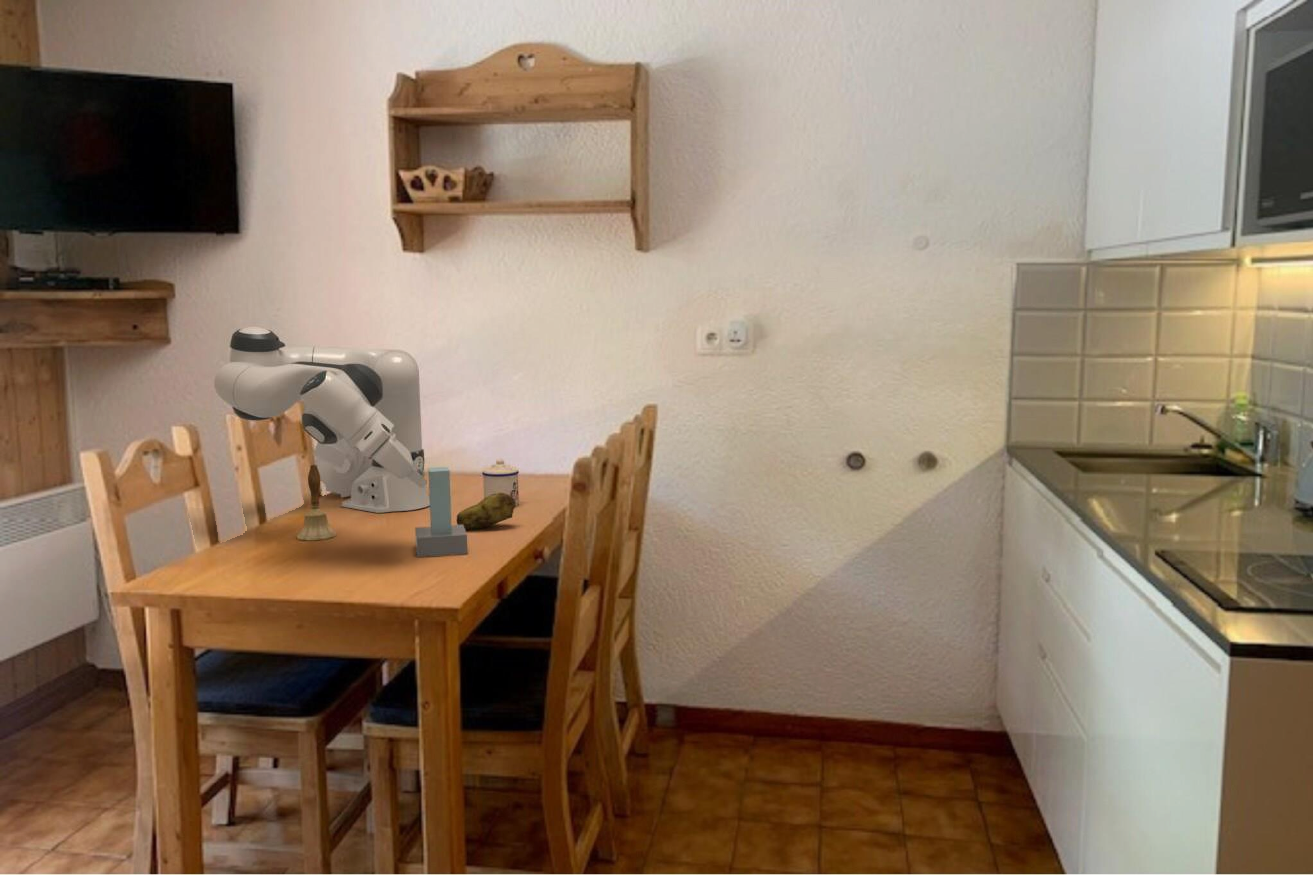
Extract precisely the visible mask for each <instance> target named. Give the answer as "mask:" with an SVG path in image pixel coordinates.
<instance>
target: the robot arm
mask: <svg viewBox="0 0 1313 875" xmlns="http://www.w3.org/2000/svg"><path fill="white" fill-rule="evenodd" d="M229 347H230V348H231V349H230V355H229V362H228V363H226V364H224V365H222V366H221V367H220V368H219V369H218V370H217V372H216V374H215V376H214V383H213V384H214V389H215V392H216V394H217V395H218V397H219V398H221V400H223V402H225V403H227V404H228V405H229V406H231V407H232V410H233V412H234V414H236V416H237V417H239V418H240V419H243V420H247V421H252V422H260V421H261V422H262V421H265V420H269V419H272V418H276V417H278V416H280V415H282V414H284V413H285V412H287V411H288V410H290V408H292V407H293V406H294V405H296V404H297V403H299V401H301V400H302V402H303V403H304V411H303V413H302V415H301V422H302V429H303V430H304V431H305V432H306V433H307V434H309V436H311V437H312V438H313V439H314V440H315V441H316V442H317V443H318V442H319V443H321V444H334V443H337V442H338V441H340V440H341V439H343V438H344V440H345V441H346V442H347V443H348V444H349V445H350V446H352V447H353V448H354V449H355V450H356V451H357V452H358V453H360V454H361V455H362V456H363V457H367V458H368V459H372V458H373V460H372V464H371V465H372V466H371V467H370V468H368V469H367V470H366V471H365V472H364V473H363V474H362V475H360V476H359V477H358V478H357V479H356V480H355V481H354V482H353V484H352V489H351V495H350V498H347V499H345V500H344V501H342V502H341V507H342V508H343V507H344V508H349V509H353V510H354V509H355V510H361V511H365V512H366V511H367V512H370V513H376V514H381V513H389V512H403V511H413V510H418V509H423V508H427V507H430V496H429V494H428V488H427V484H428V481H427V479H426V478H425V477H426V473H425V471H424V468H425V463H426V462H425V450H424V449H423V440H422V438H423V437H422V414H421V412H422V410H421V390H420V388H421V387H420V385H421V384H420V370H419V365H418V362H417V361H416V359H415V358H414V356H413V355H412V354H410V353H408V352H407V351H405V350H401V349H389V348H388V349H385V348H384V349H383V348H353V347H352V348H351V347H332V346H314V345H311V346H310V345H304V346H303V345H299V346H298V345H297V346H286V343H285V342H283V341H281V340H280V338H279V336H278V335H277V334H276V333H274V332H273V331H272V330H269V329H267V328H264V327H260V326H245V327H244V328H239V329H237V330H236V331H235V332H233V333H232V336H231V338H230V343H229ZM370 456H371V457H370Z"/></svg>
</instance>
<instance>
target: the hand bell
mask: <svg viewBox="0 0 1313 875" xmlns="http://www.w3.org/2000/svg"><path fill="white" fill-rule="evenodd" d="M307 483H308V488H309V490H310V509H309V510H308V511H307V512H305V513H304V522H303V527H302V529H301V530H300V532H299V533H298V534H297V535H296V538H297V539H298V540H299V541H323V540H329V539H332V538H335V537H336V536H337V533H336V531H335V530H334V529H332V527H331V526H330V524H329V521H328V518H327V517H328V516H327V512H326V511H324V510H323V509H320V502H319V501H320V499H319V498H320V496H319V491H320V487H321V481H320V474H319V471H318V468H317V465H316V464H311V465H310V467H309V472H308V475H307Z"/></svg>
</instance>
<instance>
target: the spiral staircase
mask: <svg viewBox="0 0 1313 875" xmlns="http://www.w3.org/2000/svg"><path fill="white" fill-rule="evenodd" d="M312 456H314V457H315V458H313V459H314V463H315V465H317V468H318V471H319V474H320V483H321V484H323V485H325V486H326V487H325V490H324V491H326V492H330V493H334V494H338V495H340V497H341V499H342V498H346V497H351V489H352V484H353V482H354V481H355V480H356V479H357V478H358V477H359V476H360V475H362V474H363V473H364V472H365V471H366V470H367V469H368V468H370V467H371V466H372V465H371V464H372V460H373V458H372V459H368V458H367V457H363V456H362V455H361V454H360V453H358V452H357V451H356V450H355V449H354V448H353V447H352V446H350V445H349V444H348V443H347V442H346V441H345V440H344V438H343V439H341V440H340V441H338V442H337V443H334V444H321V443H319V442H318V441H317V443H316V446H315V448H314V450H313V452H312ZM370 457H371V456H370Z"/></svg>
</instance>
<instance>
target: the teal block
mask: <svg viewBox="0 0 1313 875" xmlns="http://www.w3.org/2000/svg"><path fill="white" fill-rule="evenodd" d="M427 471H428V489H429V490H428V491H429V494H428V496H429V499H430V505H429V516H430V527H431V532H432V534H444V533H452V526H451V525H452V504H451V502H452V501H451V498H452V497H451V476H450V475H451V474H450V469H449V466H439V467H437V466H436V467H428V470H427Z"/></svg>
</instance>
